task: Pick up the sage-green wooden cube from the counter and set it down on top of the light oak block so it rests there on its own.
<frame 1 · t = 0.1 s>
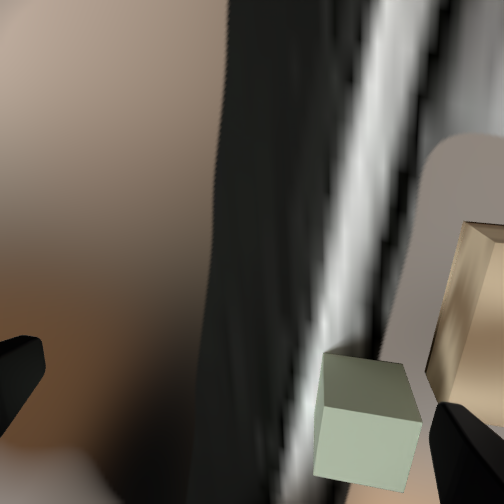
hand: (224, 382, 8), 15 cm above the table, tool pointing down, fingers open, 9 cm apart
sage cube: (356, 389, 25), on the table
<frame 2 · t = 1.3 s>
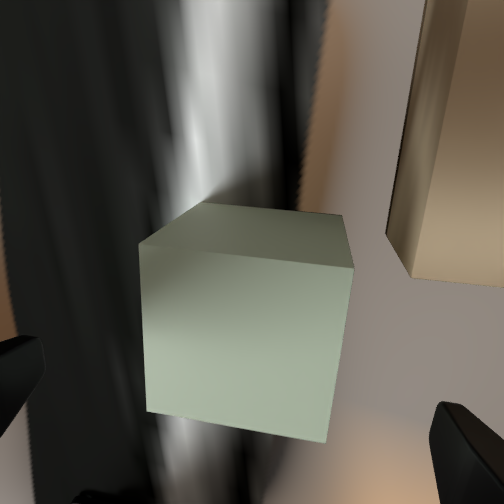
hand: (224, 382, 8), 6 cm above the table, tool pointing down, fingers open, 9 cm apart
sage cube: (264, 273, 14), on the table
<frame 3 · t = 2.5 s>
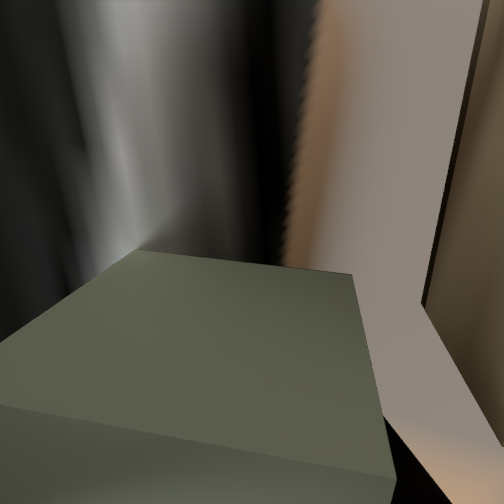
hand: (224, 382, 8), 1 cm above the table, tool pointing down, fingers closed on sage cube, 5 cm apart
sage cube: (234, 354, 9), on the table, touching gripper
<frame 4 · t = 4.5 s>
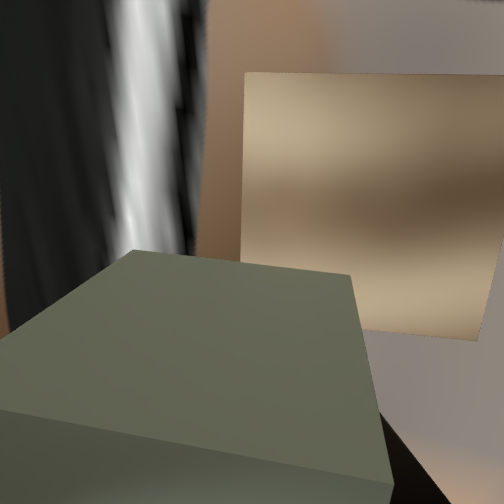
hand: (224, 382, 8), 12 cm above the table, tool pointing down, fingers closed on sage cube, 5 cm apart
sage cube: (232, 355, 9), point 11 cm above the table, touching gripper
oak block: (356, 197, 18), on the table
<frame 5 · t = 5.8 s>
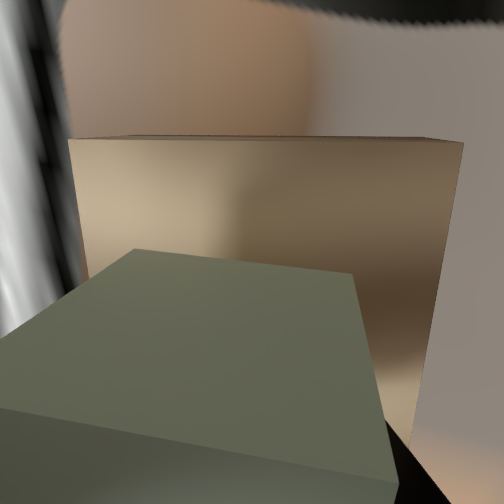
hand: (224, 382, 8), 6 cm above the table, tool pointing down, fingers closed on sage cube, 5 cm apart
sage cube: (234, 354, 9), point 5 cm above the table, touching gripper
oak block: (267, 268, 15), on the table
when the fingers open (6 cm above the table, at t = 6.4 s): sage cube drops 2 cm, resting on oak block.
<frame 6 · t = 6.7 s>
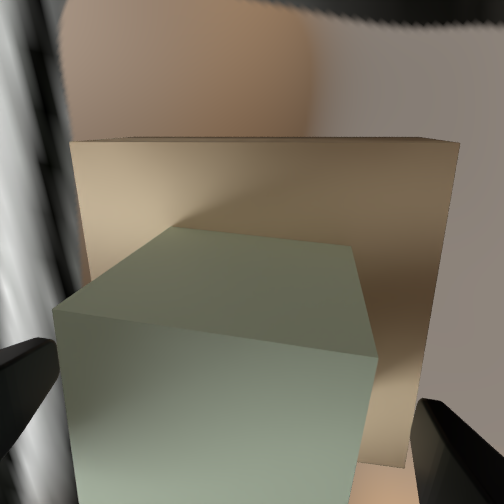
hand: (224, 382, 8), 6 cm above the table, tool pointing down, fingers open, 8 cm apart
sage cube: (252, 316, 11), point 4 cm above the table, touching oak block
oak block: (267, 268, 15), on the table, touching sage cube
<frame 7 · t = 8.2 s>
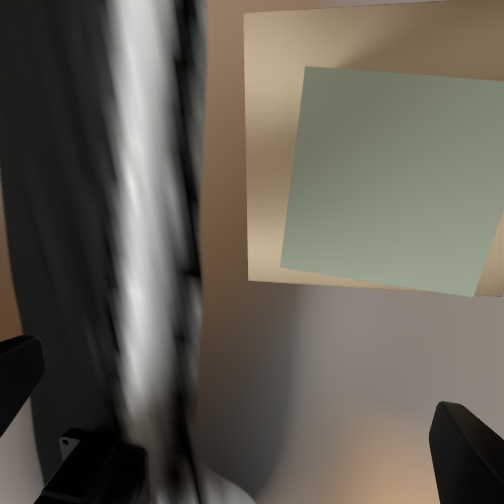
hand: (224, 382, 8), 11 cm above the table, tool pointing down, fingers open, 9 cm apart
sage cube: (371, 163, 14), point 4 cm above the table
oak block: (368, 153, 17), on the table
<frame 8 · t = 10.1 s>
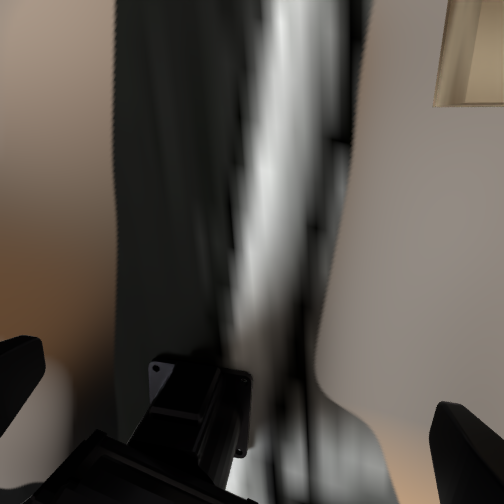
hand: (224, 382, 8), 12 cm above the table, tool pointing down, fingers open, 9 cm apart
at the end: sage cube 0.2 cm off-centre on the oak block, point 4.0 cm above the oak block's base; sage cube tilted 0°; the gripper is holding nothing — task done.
